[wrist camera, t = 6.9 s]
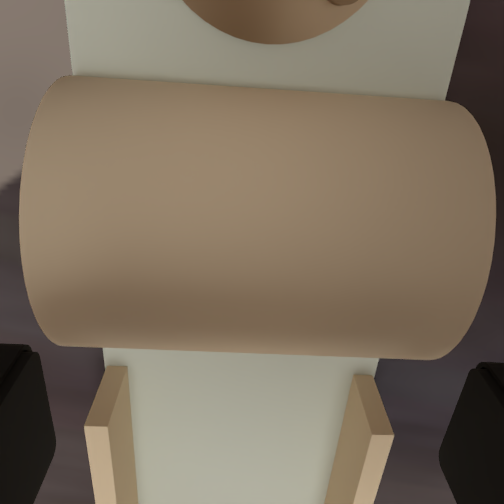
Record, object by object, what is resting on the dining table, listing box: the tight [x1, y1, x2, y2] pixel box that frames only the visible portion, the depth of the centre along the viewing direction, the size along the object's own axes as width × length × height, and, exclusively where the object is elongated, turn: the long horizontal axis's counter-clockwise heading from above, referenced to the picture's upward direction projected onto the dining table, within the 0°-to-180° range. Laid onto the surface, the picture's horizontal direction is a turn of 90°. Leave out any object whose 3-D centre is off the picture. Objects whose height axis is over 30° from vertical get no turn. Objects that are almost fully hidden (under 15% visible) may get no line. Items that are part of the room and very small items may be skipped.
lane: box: [19, 0, 496, 504], centre depth 17 cm, size 11×36×8 cm, turn 176°
